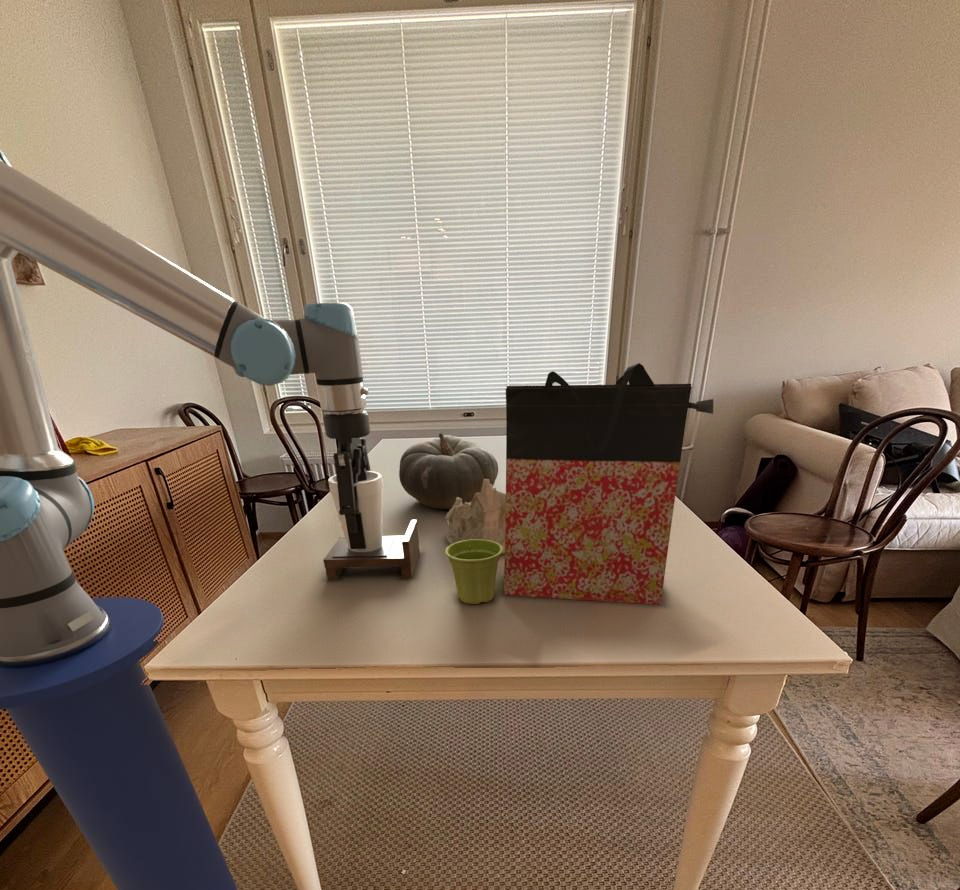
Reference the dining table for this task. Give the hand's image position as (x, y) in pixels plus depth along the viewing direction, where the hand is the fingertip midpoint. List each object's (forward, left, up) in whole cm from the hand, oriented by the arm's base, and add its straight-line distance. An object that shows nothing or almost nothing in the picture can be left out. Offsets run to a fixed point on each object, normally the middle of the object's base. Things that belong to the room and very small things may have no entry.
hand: (364, 538), depth 101 cm
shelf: (+1, 0, -6) cm, 6 cm away
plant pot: (+21, -14, -6) cm, 26 cm away
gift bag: (+41, -12, -6) cm, 44 cm away
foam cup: (0, 0, -2) cm, 2 cm away
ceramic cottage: (+23, +12, -6) cm, 27 cm away
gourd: (+13, +42, -6) cm, 44 cm away
